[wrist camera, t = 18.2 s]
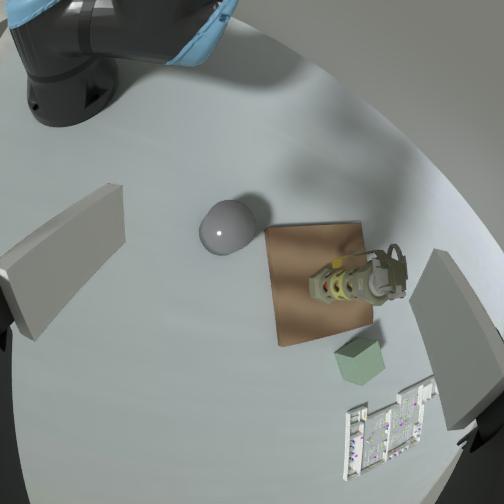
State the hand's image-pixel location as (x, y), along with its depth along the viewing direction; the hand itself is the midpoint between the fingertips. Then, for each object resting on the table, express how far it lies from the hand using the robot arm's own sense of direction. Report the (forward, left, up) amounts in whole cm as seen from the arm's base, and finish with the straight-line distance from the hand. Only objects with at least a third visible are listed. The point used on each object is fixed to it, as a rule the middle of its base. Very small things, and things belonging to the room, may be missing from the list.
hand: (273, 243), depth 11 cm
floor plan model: (+33, +34, -28) cm, 55 cm away
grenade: (+3, +19, -26) cm, 32 cm away
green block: (+16, +23, -27) cm, 39 cm away
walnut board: (+3, +19, -27) cm, 33 cm away
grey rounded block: (-5, +5, -27) cm, 28 cm away
